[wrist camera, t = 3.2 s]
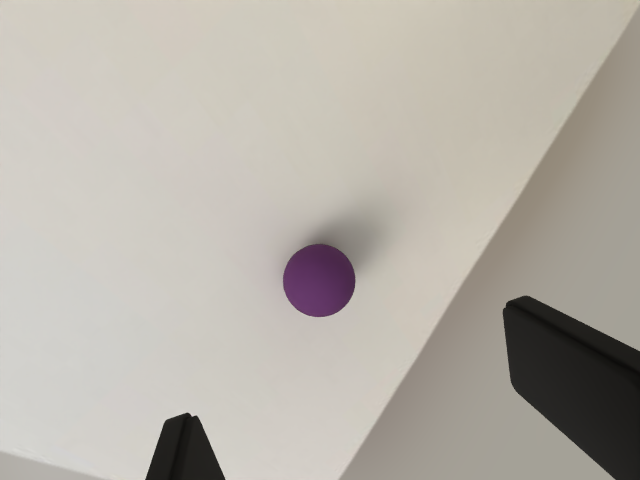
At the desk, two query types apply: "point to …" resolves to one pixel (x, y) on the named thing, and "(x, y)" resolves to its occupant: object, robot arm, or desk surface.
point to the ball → (319, 280)
